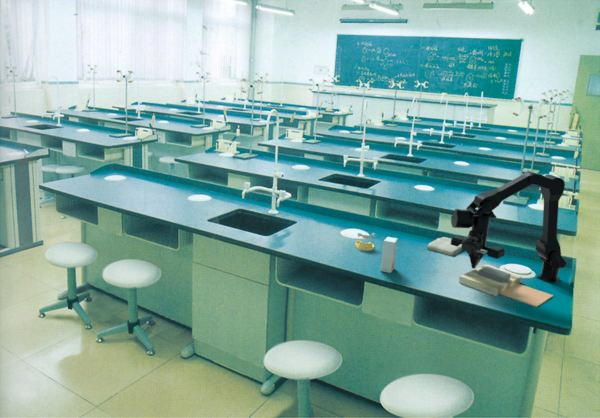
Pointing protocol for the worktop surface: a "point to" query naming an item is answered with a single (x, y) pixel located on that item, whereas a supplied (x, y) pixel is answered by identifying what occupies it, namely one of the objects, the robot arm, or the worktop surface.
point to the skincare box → (388, 254)
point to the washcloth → (444, 246)
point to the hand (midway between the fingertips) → (473, 268)
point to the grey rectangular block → (494, 274)
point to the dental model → (365, 246)
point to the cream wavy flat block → (488, 281)
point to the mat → (526, 295)
